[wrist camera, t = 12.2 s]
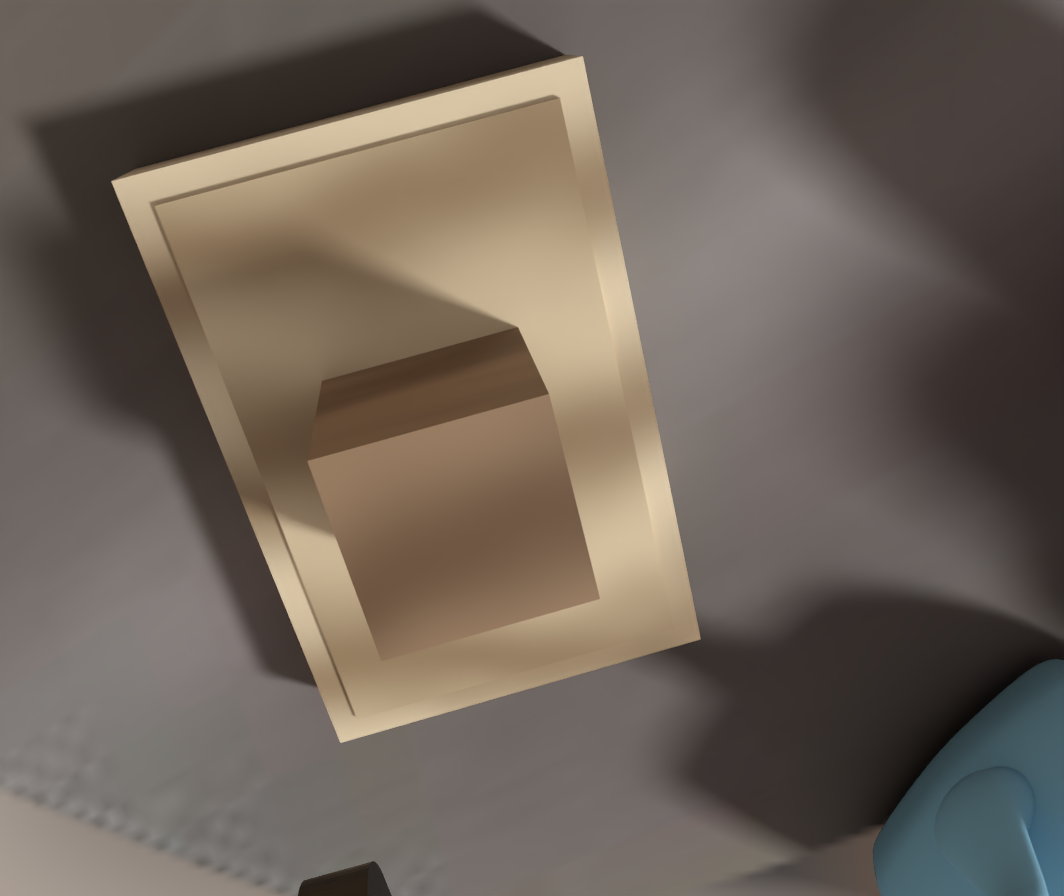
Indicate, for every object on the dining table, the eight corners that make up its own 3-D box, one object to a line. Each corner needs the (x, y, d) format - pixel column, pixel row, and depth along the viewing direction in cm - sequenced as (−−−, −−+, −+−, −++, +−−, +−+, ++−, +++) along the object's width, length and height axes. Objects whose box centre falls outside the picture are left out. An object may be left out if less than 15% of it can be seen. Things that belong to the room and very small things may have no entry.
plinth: (134, 168, 26) (109, 182, 24) (565, 55, 27) (583, 56, 24) (343, 695, 33) (340, 746, 31) (679, 599, 34) (702, 641, 31)
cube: (322, 380, 26) (307, 460, 21) (518, 327, 27) (548, 393, 22) (382, 552, 29) (381, 661, 24) (562, 501, 29) (600, 599, 24)
